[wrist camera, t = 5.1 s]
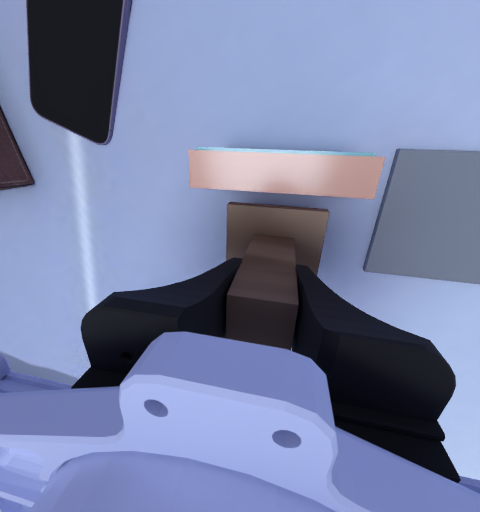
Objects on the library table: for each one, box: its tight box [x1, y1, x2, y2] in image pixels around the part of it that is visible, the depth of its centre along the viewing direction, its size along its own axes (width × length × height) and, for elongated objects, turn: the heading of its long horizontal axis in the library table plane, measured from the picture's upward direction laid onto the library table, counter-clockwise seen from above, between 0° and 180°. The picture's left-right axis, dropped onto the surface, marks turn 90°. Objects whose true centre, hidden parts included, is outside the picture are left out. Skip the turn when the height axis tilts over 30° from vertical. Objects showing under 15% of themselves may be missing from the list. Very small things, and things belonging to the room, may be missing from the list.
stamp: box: [226, 202, 329, 351], centre depth 12 cm, size 6×6×8 cm
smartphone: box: [26, 0, 132, 145], centre depth 16 cm, size 7×1×15 cm
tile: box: [188, 147, 385, 199], centre depth 14 cm, size 2×9×7 cm, turn 88°
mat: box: [363, 149, 480, 284], centre depth 16 cm, size 9×9×1 cm
